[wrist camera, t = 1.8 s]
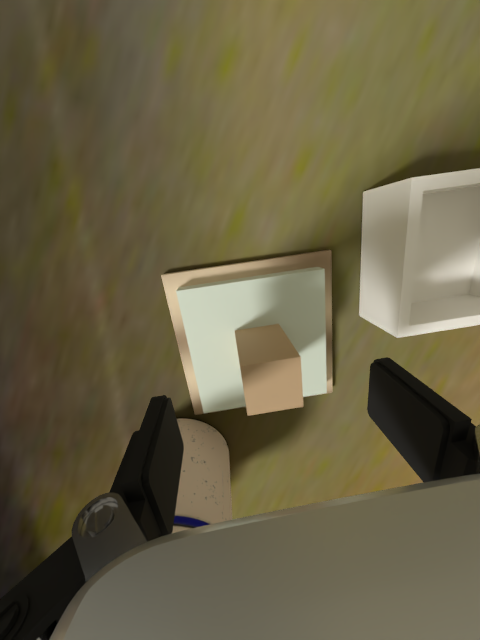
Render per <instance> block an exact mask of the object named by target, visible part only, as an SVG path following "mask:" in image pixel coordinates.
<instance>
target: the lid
mask: <svg viewBox="0 0 480 640" xmlns="http://www.w3.org/2000/svg"><path fill="white" fill-rule="evenodd" d="M176 293H177V298H178V302H179V307H180V311H181V315H182V320H183V324H184V329H185V333H186V337H187V342H188V346H189V351H190V355H191V359H192V364H193V368H194V373H195V377H196V381H197V386H198V390H199V395H200V399H201V403H202V408H203V412H204V413H209V412H215V411H221V410H227V409H233V408H239V407H245V406H246V409H247V415H248V416H250V415H256V414H262V413H268V412H274V411H280V410H286V409H292V408H298V407H303V397H306V396H312V395H318V394H324V393H327V379H326V319H325V269H323V268H320V267H312V268H306V269H299V270H292V271H285V272H279V273H272V274H265V275H258V276H252V277H245V278H238V279H232V280H225V281H218V282H211V283H205V284H198V285H191V286H184V287H179V288H178V289H177V290H176Z"/></svg>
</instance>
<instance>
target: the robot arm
mask: <svg viewBox="0 0 480 640" xmlns="http://www.w3.org/2000/svg"><path fill="white" fill-rule="evenodd" d="M367 409H368V414H369V416H370V417H371V419H372V420H373V421H374V422H375V423H376V425H377V426H378V427H379V428H380V430H381V431H382V432H383V433H384V434H385V436H386V437H387V438H388V439H389V441H390V442H391V443H392V444H393V445H394V447H395V448H396V449H397V450H398V451H399V453H400V454H401V455H402V456H403V458H404V459H405V460H406V461H407V462H408V464H409V465H410V466H411V467H412V469H413V470H414V471H415V472H416V473H417V475H418V476H419V477H420V478H421V480H422V481H423V482H424V483H419V484H414V485H408V486H403V487H397V488H392V489H387V490H381V491H376V492H371V493H365V494H360V495H355V496H350V497H345V498H339V499H334V500H329V501H324V502H319V503H314V504H308V505H303V506H298V507H293V508H288V509H283V510H278V511H273V512H268V513H263V514H258V515H253V516H248V517H243V518H238V519H233V520H228V521H223V522H219V523H214V524H210V525H205V526H201V527H196V528H191V529H187V530H183V531H179V532H175V533H172V531H173V524H174V517H175V510H176V503H177V495H178V488H179V481H180V474H181V467H182V459H183V452H184V444H183V440H182V436H181V433H180V429H179V426H178V422H177V419H176V415H175V412H174V408H173V405H172V401H171V399H170V398H167V397H166V396H165V395H163V396H157V397H152V398H151V400H150V403H149V406H148V409H147V411H146V414H145V417H144V419H143V422H142V425H141V427H140V430H139V431H135V432H134V433H133V435H132V437H131V440H130V442H129V445H128V447H127V450H126V452H125V455H124V457H123V460H122V462H121V465H120V467H119V470H118V472H117V475H116V477H115V480H114V482H113V485H112V487H111V490H110V492H109V493H105V494H102V495H100V496H98V497H96V498H95V499H93V500H92V501H90V502H89V503H88V504H87V505H86V506H85V507H84V508H83V509H82V510H81V512H80V513H79V514H78V516H77V518H76V520H75V521H74V524H73V528H72V537H71V538H70V539H68V540H67V541H66V542H65V543H64V544H63V545H62V546H60V547H59V548H58V549H57V550H56V551H55V552H54V553H52V554H51V555H50V556H49V557H48V558H47V559H46V560H44V561H43V562H42V563H41V564H40V565H39V566H38V567H36V568H35V569H34V570H33V571H32V572H31V573H30V574H28V575H27V576H26V577H25V578H24V579H23V580H22V581H20V582H19V583H18V584H17V585H16V586H15V587H14V588H12V589H11V590H10V591H9V592H8V593H7V594H6V595H4V596H3V597H2V598H1V599H0V640H480V425H478V426H477V427H476V426H474V425H473V424H472V423H471V420H472V419H470V418H469V417H468V416H466V415H465V414H464V413H462V412H461V411H460V410H458V409H457V408H456V407H454V406H453V405H452V404H450V403H449V402H448V401H446V400H445V399H444V398H442V397H441V396H440V395H438V394H437V393H436V392H434V391H433V390H432V389H430V388H429V387H428V386H426V385H425V384H424V383H422V382H421V381H420V380H418V379H417V378H416V377H414V376H413V375H412V374H410V373H409V372H408V371H406V370H405V369H403V368H402V367H401V366H399V365H398V364H397V363H395V362H394V361H393V360H391V359H390V358H381V359H376V360H374V362H373V363H372V364H371V366H370V379H369V394H368V408H367Z"/></svg>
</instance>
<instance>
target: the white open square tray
mask: <svg viewBox="0 0 480 640" xmlns="http://www.w3.org/2000/svg"><path fill="white" fill-rule="evenodd" d="M359 316H361V317H362V318H364V319H366V320H367V321H369V322H371V323H373V324H374V325H376V326H378V327H379V328H381V329H383V330H385V331H386V332H388V333H390V334H391V335H393V336H395V337H396V338H399V337H406V336H412V335H418V334H425V333H431V332H437V331H443V330H450V329H456V328H462V327H468V326H475V325H480V168H477V169H470V170H463V171H456V172H448V173H441V174H434V175H427V176H420V177H412V178H409V179H405V180H402V181H398V182H395V183H391V184H388V185H384V186H381V187H378V188H374V189H371V190H367V191H364V192H363V211H362V242H361V273H360V303H359Z"/></svg>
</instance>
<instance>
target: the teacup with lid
mask: <svg viewBox="0 0 480 640" xmlns="http://www.w3.org/2000/svg"><path fill="white" fill-rule="evenodd" d="M177 422H178V426H179V429H180V433H181V436H182V440H183V444H184V452H183V459H182V467H181V474H180V481H179V488H178V495H177V503H176V510H175V517H174V524H173V531H172V533H175V532H179V531H183V530H187V529H191V528H196V527H201V526H205V525H210V524H214V523H219V522H223V521H228V520H232V503H231V482H230V461H229V449H228V445H227V443H226V441H225V439H224V438H223V436H222V435H221V434H220V433H219V432H218V431H217V430H216V429H215V428H213V427H212V426H210V425H208V424H206V423H204V422H201V421H198V420H194V419H184V418H181V419H177Z"/></svg>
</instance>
